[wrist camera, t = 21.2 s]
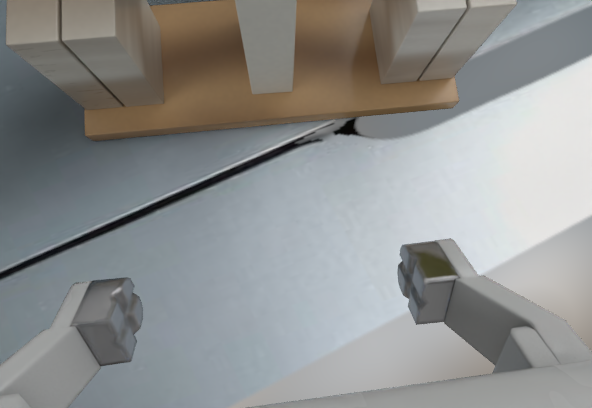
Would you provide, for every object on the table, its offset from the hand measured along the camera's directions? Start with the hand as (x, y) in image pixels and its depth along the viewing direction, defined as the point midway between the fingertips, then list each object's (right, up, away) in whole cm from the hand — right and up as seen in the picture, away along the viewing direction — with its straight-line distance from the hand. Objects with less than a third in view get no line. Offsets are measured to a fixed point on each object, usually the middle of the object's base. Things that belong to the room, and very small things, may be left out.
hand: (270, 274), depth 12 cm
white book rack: (-1, +11, +12) cm, 16 cm away
